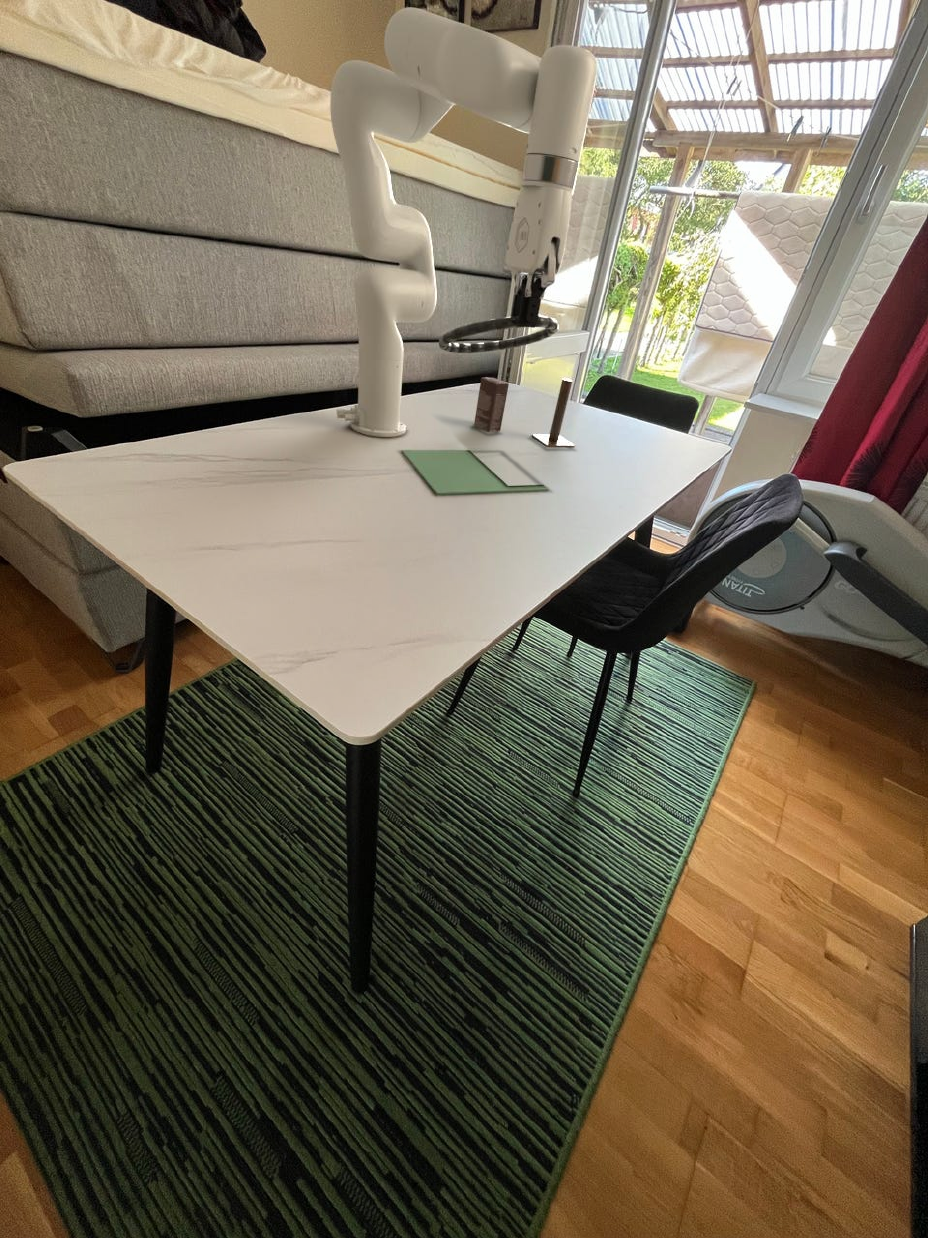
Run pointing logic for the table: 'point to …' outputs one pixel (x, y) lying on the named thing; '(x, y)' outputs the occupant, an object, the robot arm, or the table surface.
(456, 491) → the mat
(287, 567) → the table surface
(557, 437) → the post
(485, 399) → the box
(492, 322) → the ring
